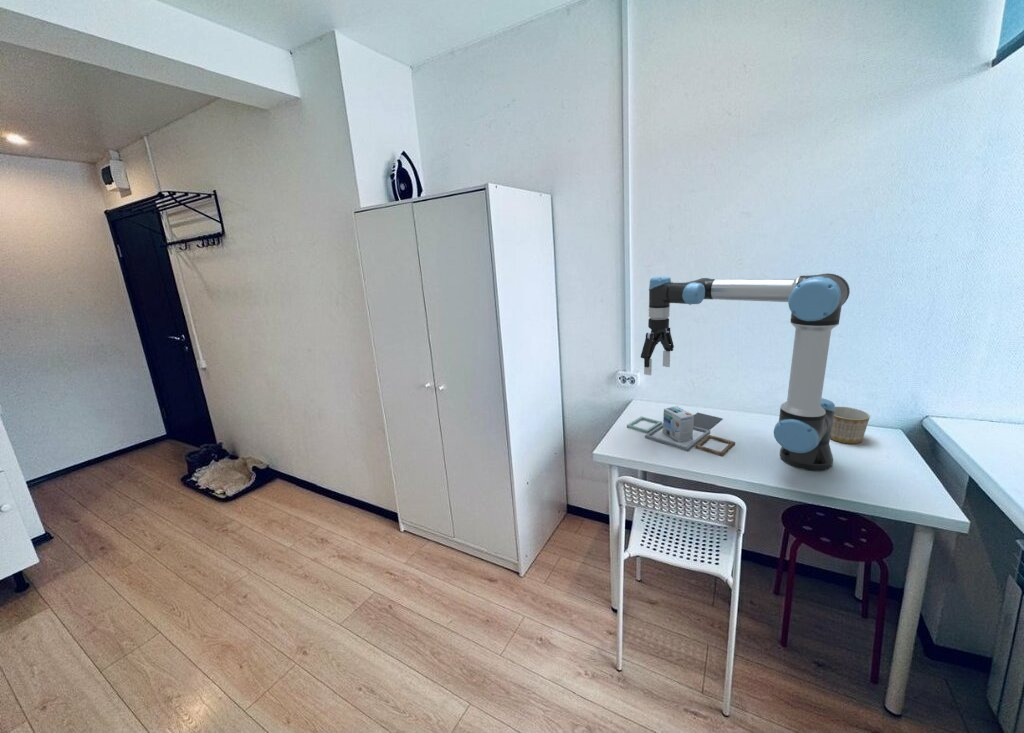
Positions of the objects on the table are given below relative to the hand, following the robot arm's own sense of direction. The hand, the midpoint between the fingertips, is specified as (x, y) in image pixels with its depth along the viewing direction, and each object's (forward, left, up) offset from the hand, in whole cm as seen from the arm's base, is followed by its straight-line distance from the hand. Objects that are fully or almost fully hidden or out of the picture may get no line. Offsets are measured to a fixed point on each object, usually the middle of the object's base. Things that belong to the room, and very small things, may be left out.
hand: (657, 370), depth 163 cm
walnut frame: (-22, -4, -28) cm, 36 cm away
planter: (-55, -40, -28) cm, 74 cm away
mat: (-9, -23, -28) cm, 37 cm away
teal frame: (+8, -4, -28) cm, 29 cm away
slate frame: (-7, -4, -28) cm, 29 cm away
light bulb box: (-7, -4, -28) cm, 29 cm away
